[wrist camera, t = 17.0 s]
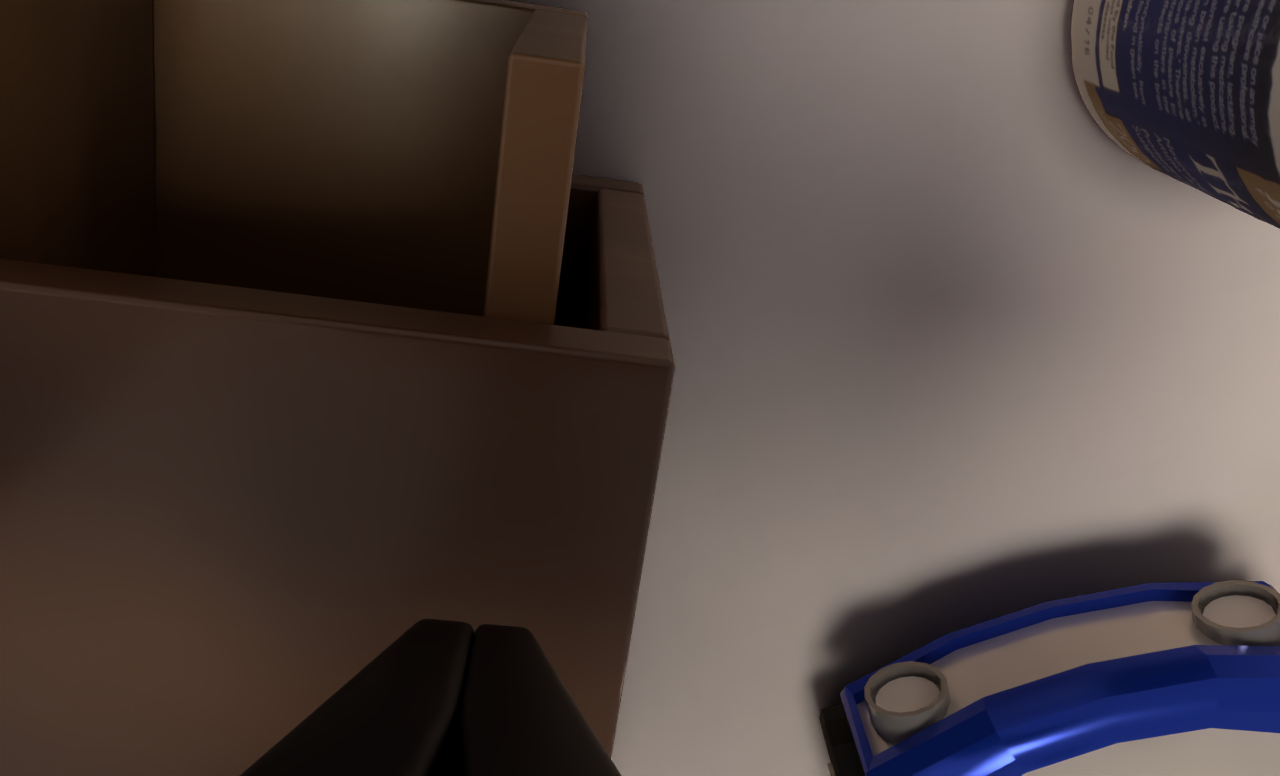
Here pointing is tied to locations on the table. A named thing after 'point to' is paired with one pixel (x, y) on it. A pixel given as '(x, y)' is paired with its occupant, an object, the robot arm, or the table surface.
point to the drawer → (297, 145)
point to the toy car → (1079, 691)
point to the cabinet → (310, 495)
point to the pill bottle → (1188, 90)
